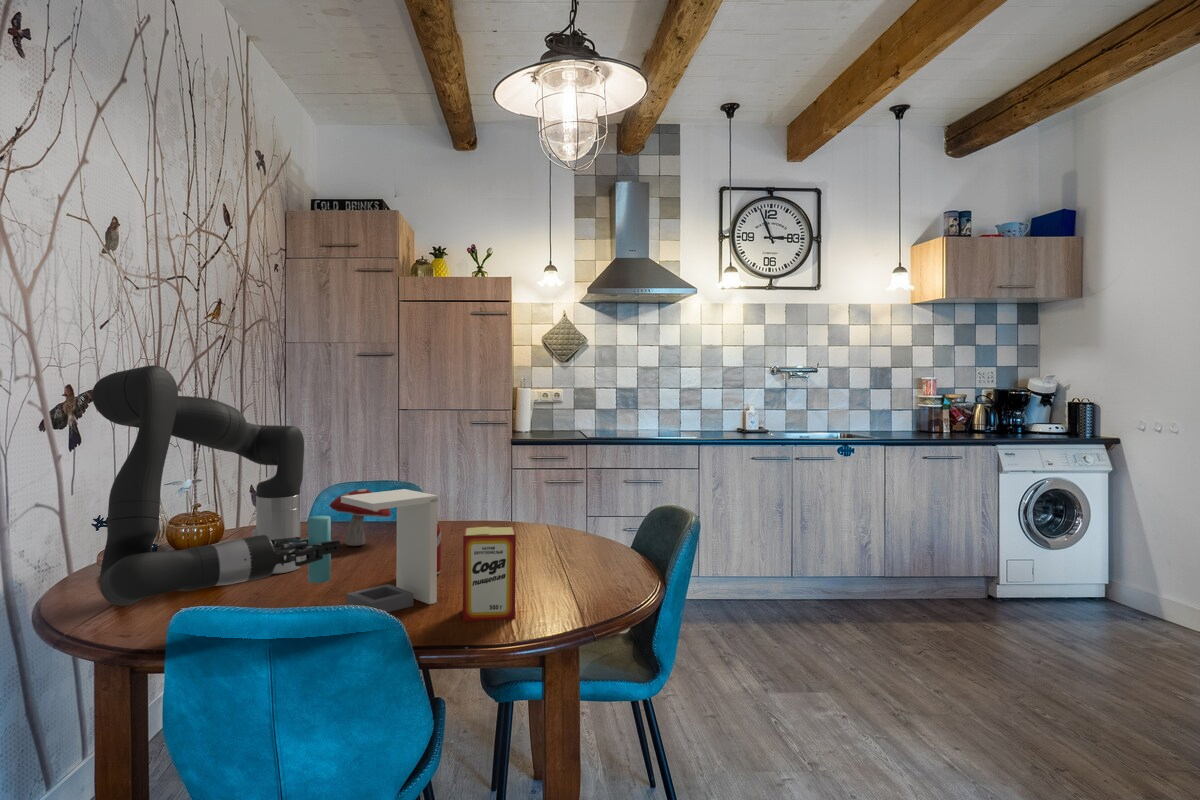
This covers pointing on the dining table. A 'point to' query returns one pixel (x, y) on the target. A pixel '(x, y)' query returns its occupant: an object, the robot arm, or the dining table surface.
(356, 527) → the decorative mushroom
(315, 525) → the peg
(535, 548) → the dining table surface
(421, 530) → the awning socket
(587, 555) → the dining table surface
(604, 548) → the dining table surface
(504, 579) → the baking soda box
